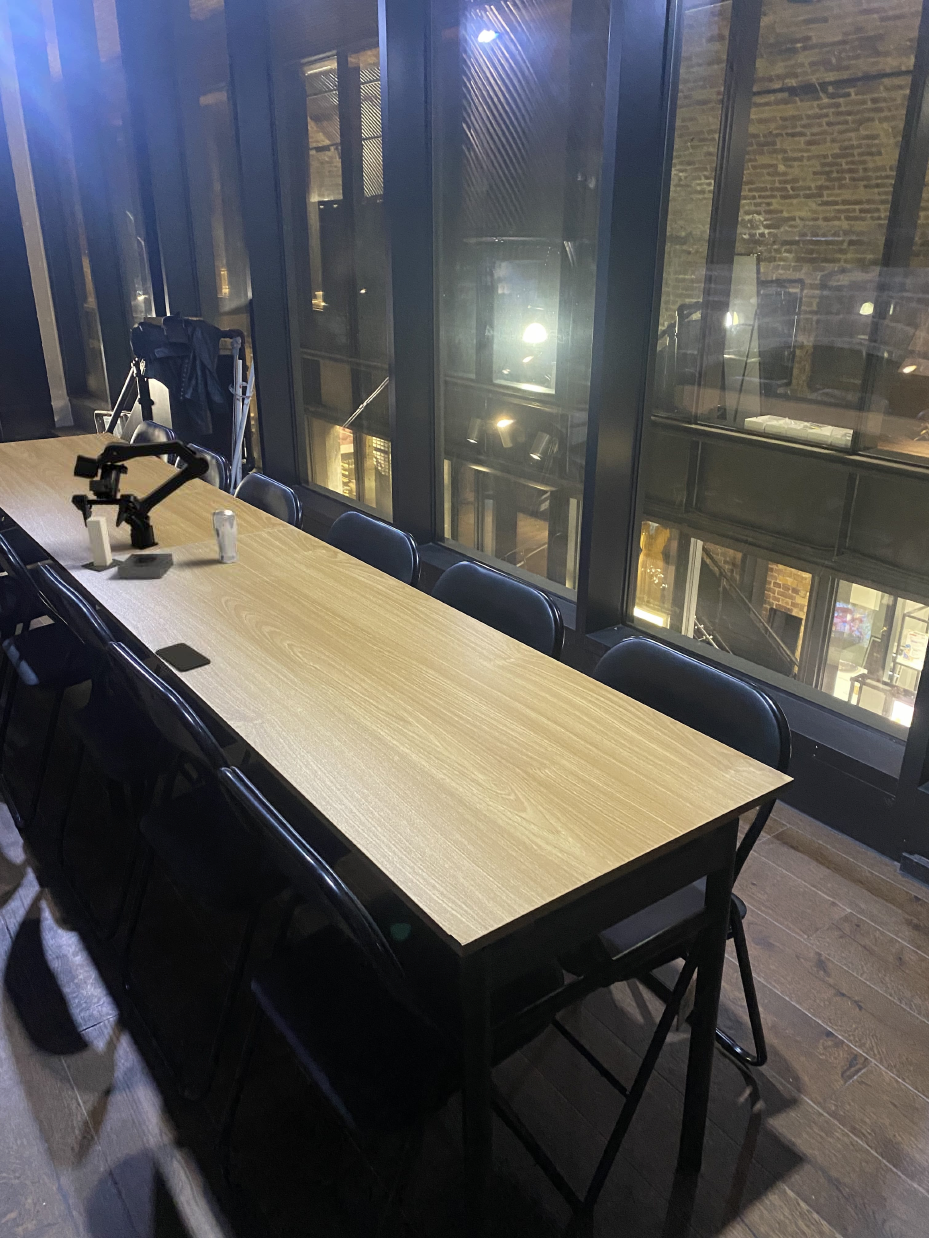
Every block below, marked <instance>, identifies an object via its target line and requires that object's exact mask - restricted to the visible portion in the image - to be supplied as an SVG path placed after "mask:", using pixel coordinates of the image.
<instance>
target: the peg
mask: <svg viewBox="0 0 929 1238" xmlns="http://www.w3.org/2000/svg"><path fill="white" fill-rule="evenodd" d="M86 523H87V528H86V529H87V533H88V539H89V544H90V550H91V555H92V561H93V562H94V566H108V565H109V564H110V563H111V562H112V558H113V557H112V549H111V543H110V538H109V533H108V527H107V521H106V516H91V517H90V518H89V519H87V520H86Z"/></svg>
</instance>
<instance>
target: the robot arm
mask: <svg viewBox="0 0 929 1238" xmlns="http://www.w3.org/2000/svg"><path fill="white" fill-rule="evenodd" d="M164 455H166V456H167V455H176V456H177V457H178V458H179V459H181V460H182V461H183V462H184V465H182V467H181V468H180V469H179V470H178V471H177V472H176V473H174V474H173V475H172V476H170V477H169V478H168V479H167V480H165V481H164V482H163V483H161V484H160V485H158V486H157V487H156V488H154V489H153V490H152V491H150V492H149V493H148V494H147V495H145V496H143V497H141V498H139V497H138V496H137V495H134V493H121V494H120V495H119V498H118V493H120V492H121V489H120V481H121V474H122V475H128V472H129V468H128V467H127V466H126V464H125V463H123V462H127V461H129V460H132V459H135V458H144V457H154V456H164ZM120 463H121V464H120ZM73 468H74V469H73V477H75V478H80V479H85V480H88V487H89V488H88V490H89V492H92V495H93V497H96V498H90V497H89V496H88V495H87V494H86V493H83V494H82V493H81V494H78V493H77V494H74V495H72V497H71V501H70V502H71V503H72V505H73V506H74V507H75V508H76V509H77V510H78V511H80V512H81V515H82V517H83V522H84V527H85V528H86V529H88V528H87V523H86V520H87V519H89V518H90V517H92V514H93V511H92V509H93V506H118V510H117V515H116V521H115V527H116V528H119V527H121V525H122V523H125V524H126V525H128V526H130V529H129V530H130V534H129V536H130V543H131V544H129V547H130V548H131V547H132V548H135V549H139V550H144V549H148V548H149V549H150V548H152V547H154V546H157V545H159V542H157V541H156V539H155V531H154V526H153V524H151V516H150V515H149V513H150V512H151V511H152V509H153V508H154V507H156V506H157V505H158V504H160V503H161V502H162V501H164V500H165V499H166V498H168V497H169V496H170V495H171V494H173V493H174V492H176V491H177V490H178V489H180V488H182V487H183V486H184V485H185V484H186V483H187V482H191V481H193V480H195V479H198V478H200V477H202V476H204V475H205V474H207V472H208V471H209V469H210V463H209V459H208V457H207V456H206V455H205V454H203V453H200V452H197V451H196V450H194V449H193V448H191V447H190V446H188V445H186V444H185V443H183V442H182V441H181V440H180V439H173V440H165V441H164V440H161V441H152V442H141V443H131V442H126V441H125V442H124V441H110V442H108V443H107V444H105V447H104V449H103V451H102V452H100V454H98V456H96V457H91V456H85V455H83V454H77V456H76V461H75V465H74V466H73ZM99 472H100V475H99ZM98 477H99V479H96V478H98Z"/></svg>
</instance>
